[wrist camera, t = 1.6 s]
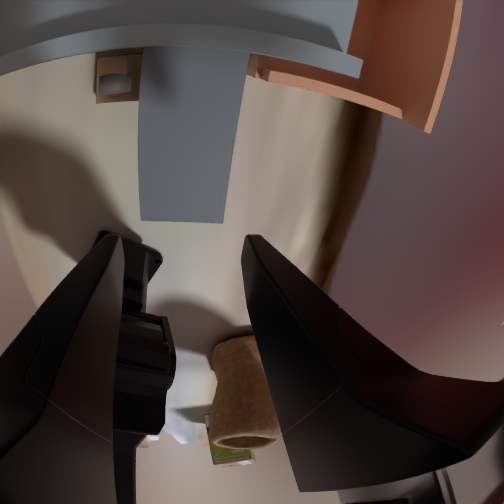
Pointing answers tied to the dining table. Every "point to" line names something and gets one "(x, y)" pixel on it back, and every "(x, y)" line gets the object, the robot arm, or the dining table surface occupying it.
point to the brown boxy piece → (385, 59)
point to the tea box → (229, 453)
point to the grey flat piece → (183, 75)
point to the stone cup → (241, 398)
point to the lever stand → (118, 78)
